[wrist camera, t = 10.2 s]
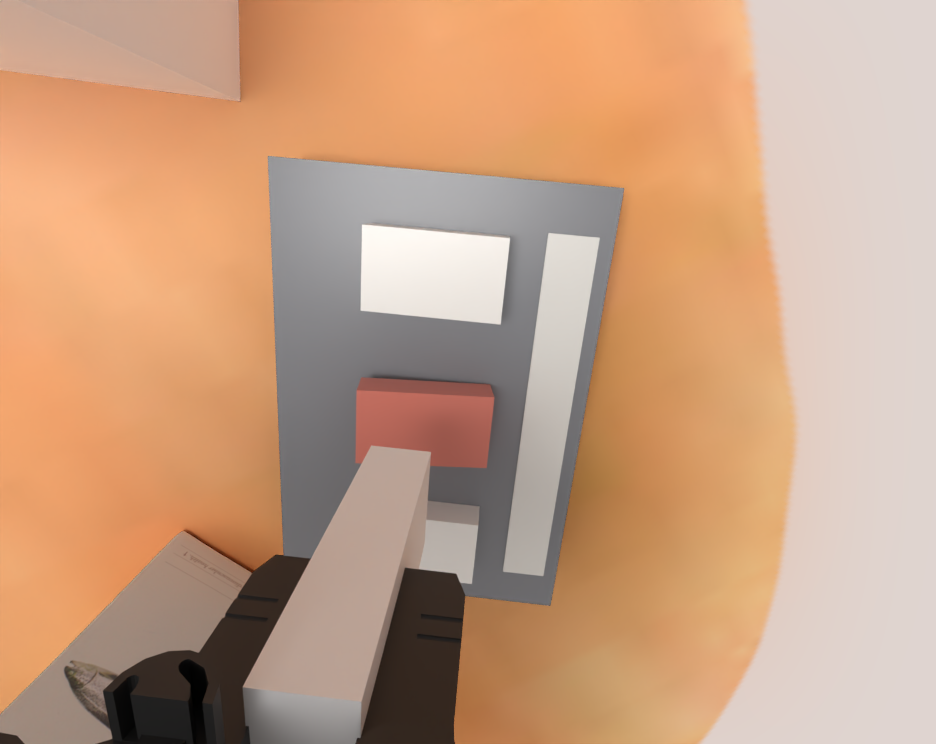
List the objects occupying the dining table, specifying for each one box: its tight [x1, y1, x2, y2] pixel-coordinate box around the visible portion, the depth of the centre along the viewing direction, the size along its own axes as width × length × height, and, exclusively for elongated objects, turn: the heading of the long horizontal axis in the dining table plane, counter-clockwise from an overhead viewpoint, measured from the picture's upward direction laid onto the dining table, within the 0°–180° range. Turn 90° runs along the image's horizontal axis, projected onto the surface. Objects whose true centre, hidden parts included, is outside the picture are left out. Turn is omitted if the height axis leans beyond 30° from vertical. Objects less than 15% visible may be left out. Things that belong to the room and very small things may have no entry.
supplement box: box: [0, 531, 252, 744], centre depth 19 cm, size 7×7×13 cm
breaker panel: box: [268, 156, 624, 606], centre depth 18 cm, size 16×11×4 cm
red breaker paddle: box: [355, 377, 495, 468], centre depth 17 cm, size 3×4×1 cm, turn 85°
